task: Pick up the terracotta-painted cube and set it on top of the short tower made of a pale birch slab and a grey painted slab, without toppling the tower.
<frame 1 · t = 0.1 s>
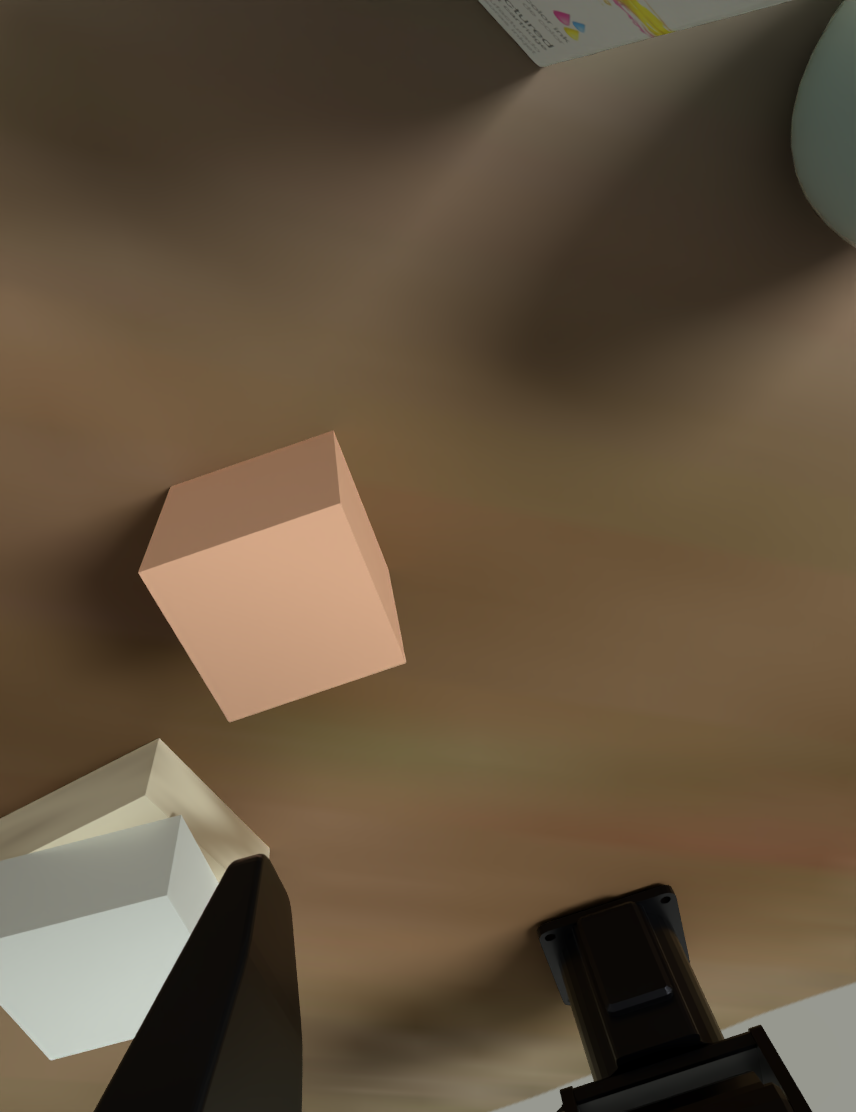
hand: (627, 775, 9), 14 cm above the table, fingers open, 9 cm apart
cube: (285, 529, 23), on the table
tower top: (124, 898, 26), point 3 cm above the table, touching tower base
tower base: (140, 827, 29), on the table, touching tower top
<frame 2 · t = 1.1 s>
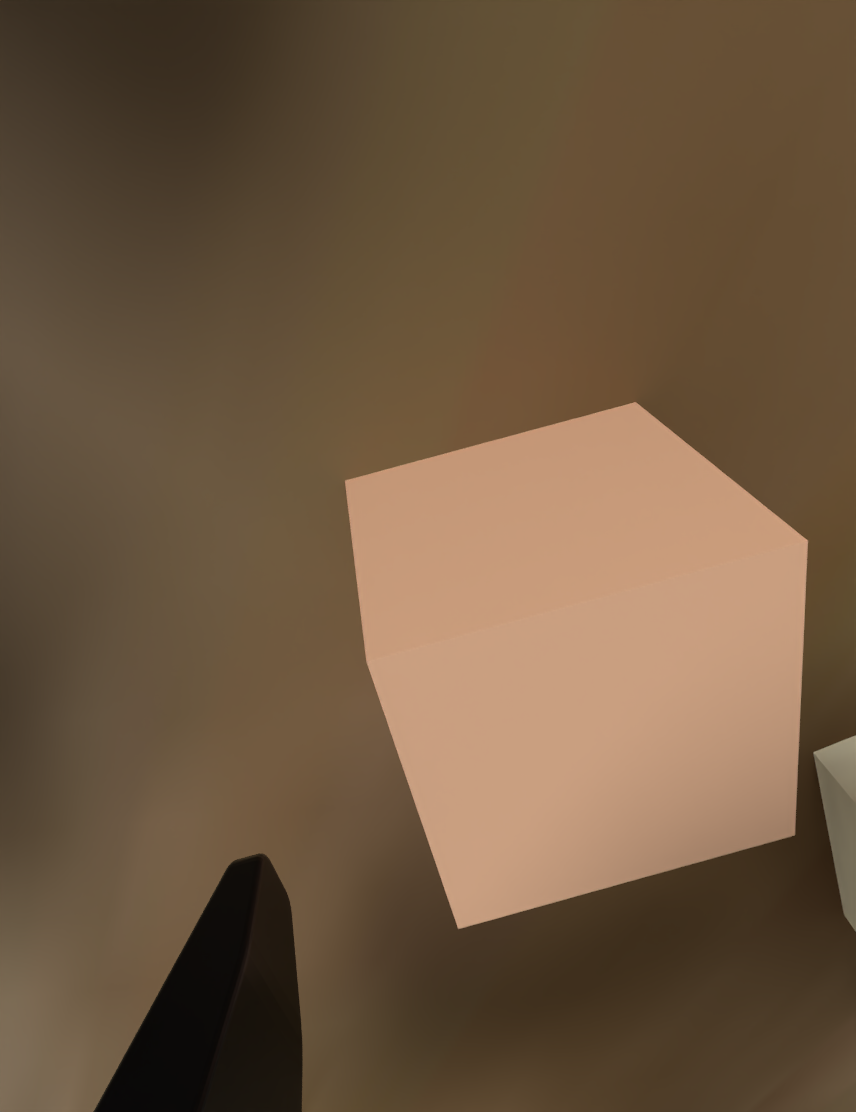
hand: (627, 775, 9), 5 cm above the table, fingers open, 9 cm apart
cube: (513, 563, 14), on the table
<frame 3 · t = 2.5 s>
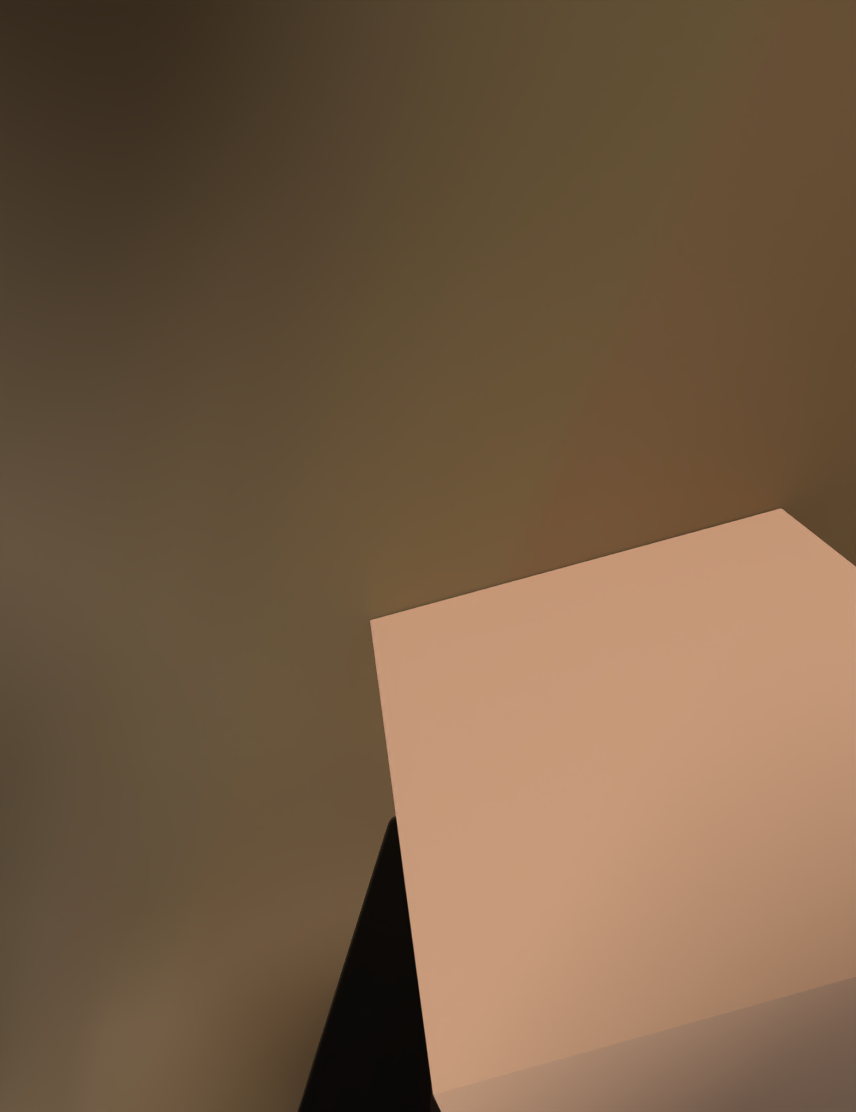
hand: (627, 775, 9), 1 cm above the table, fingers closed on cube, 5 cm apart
cube: (598, 718, 10), on the table, touching gripper
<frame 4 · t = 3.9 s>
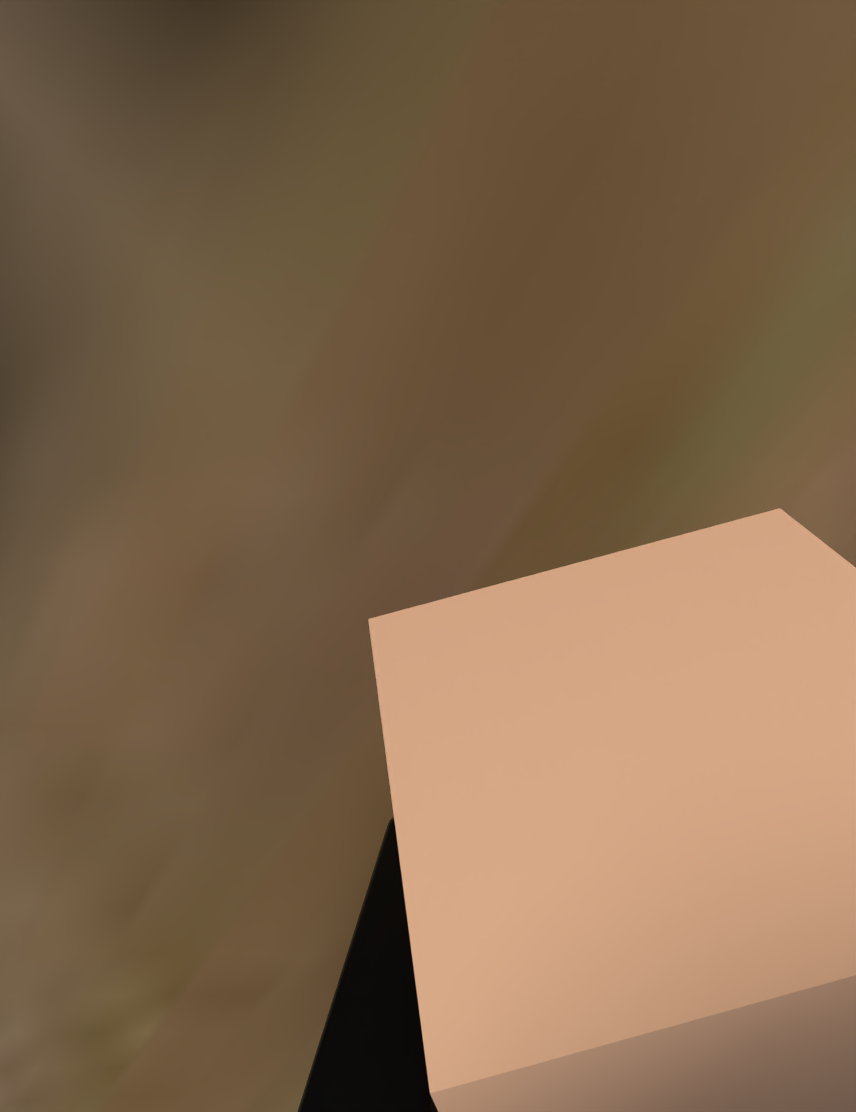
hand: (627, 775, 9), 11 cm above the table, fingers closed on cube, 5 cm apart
cube: (597, 718, 10), point 10 cm above the table, touching gripper
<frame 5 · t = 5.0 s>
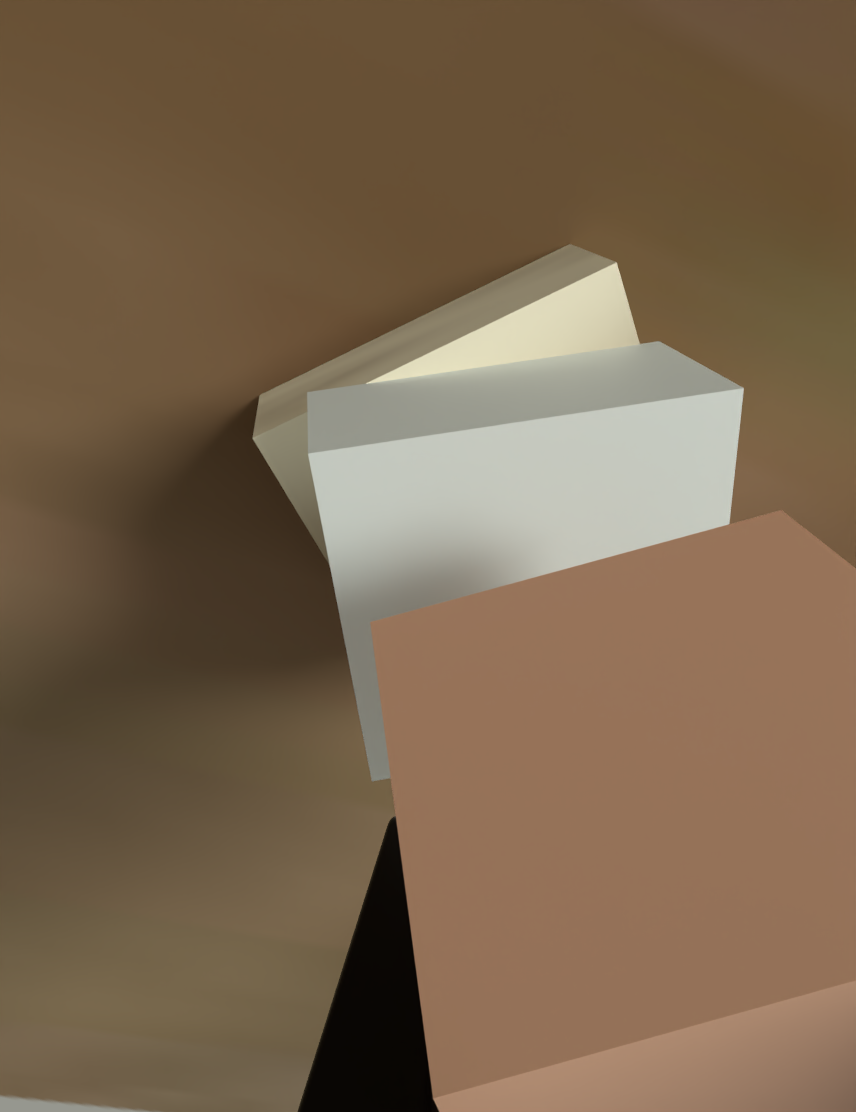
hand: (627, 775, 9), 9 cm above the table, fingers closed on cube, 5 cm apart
cube: (598, 720, 10), point 8 cm above the table, touching gripper
tower top: (496, 525, 15), point 3 cm above the table, touching tower base
tower base: (471, 456, 17), on the table, touching tower top
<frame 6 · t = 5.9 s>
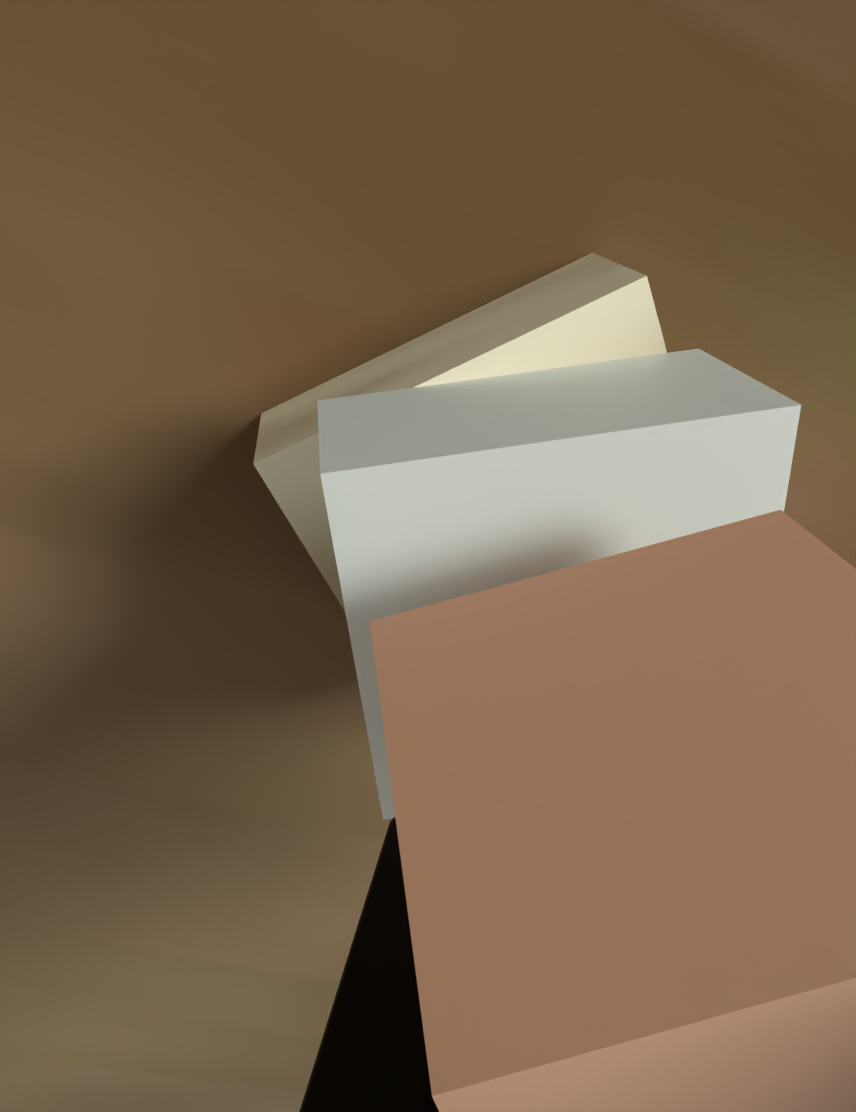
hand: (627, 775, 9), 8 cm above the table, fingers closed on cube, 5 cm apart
cube: (598, 719, 10), point 7 cm above the table, touching gripper
tower top: (518, 543, 14), point 3 cm above the table, touching tower base
tower base: (484, 476, 16), on the table, touching tower top
when the fingers open (8 cm above the table, at t = 5.9 s): cube drops 2 cm, resting on tower top.
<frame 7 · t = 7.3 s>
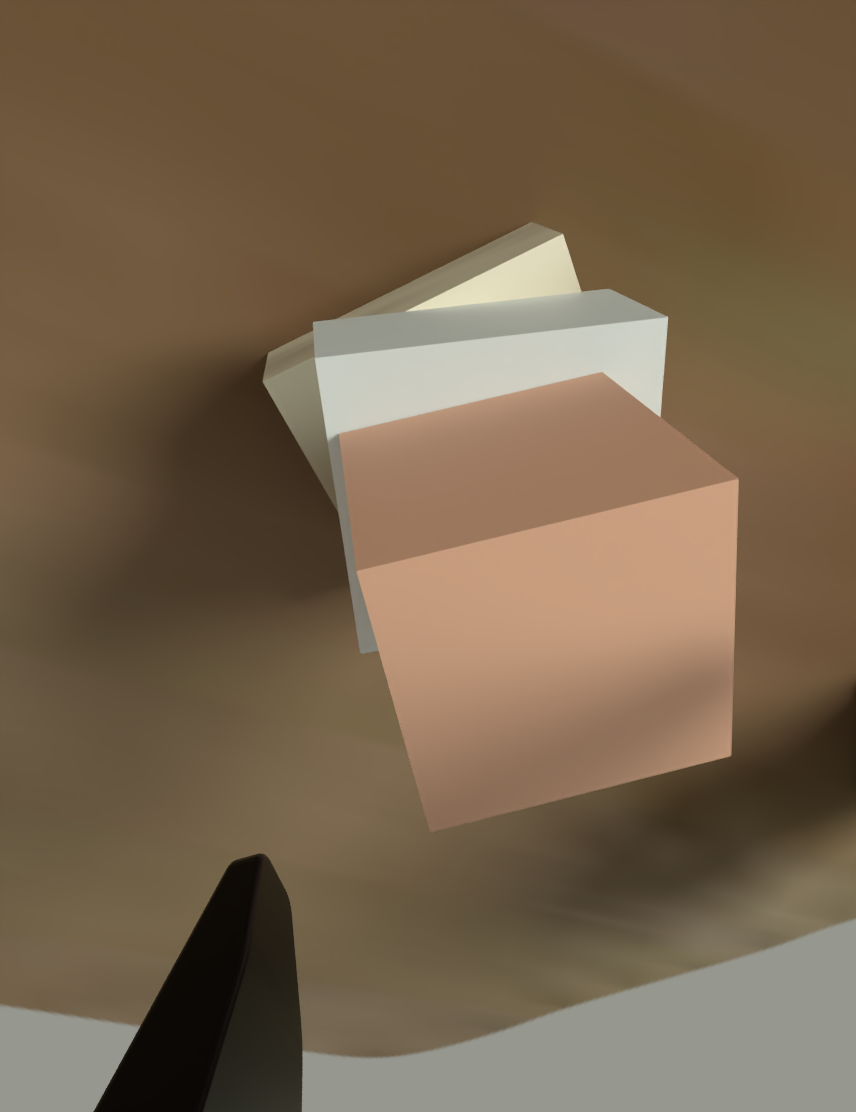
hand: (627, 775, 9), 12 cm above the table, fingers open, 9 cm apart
cube: (490, 520, 15), point 5 cm above the table, touching tower top
tower top: (471, 446, 17), point 2 cm above the table, touching cube, tower base
tower base: (450, 408, 20), on the table, touching tower top
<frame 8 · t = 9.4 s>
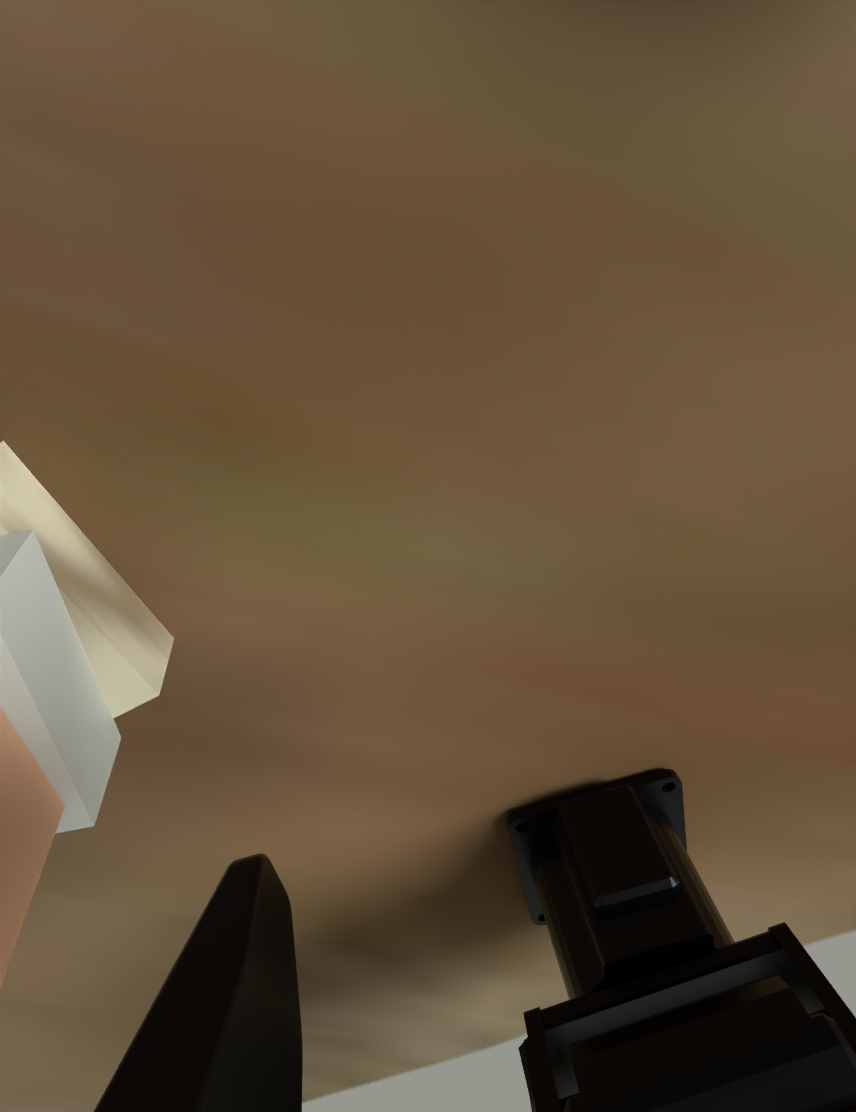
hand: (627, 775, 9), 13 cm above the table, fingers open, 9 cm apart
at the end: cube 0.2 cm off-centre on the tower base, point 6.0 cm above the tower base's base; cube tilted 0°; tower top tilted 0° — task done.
